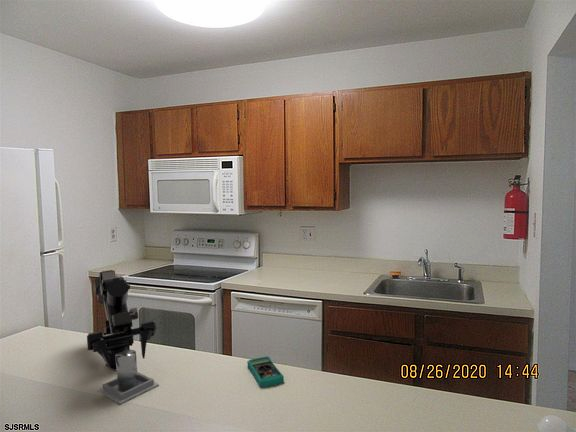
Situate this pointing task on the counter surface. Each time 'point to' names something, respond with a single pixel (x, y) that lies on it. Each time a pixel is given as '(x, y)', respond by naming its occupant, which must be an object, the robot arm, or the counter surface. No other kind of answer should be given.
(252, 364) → the digital multimeter
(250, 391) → the counter surface
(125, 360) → the metal cylinder
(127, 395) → the holder
